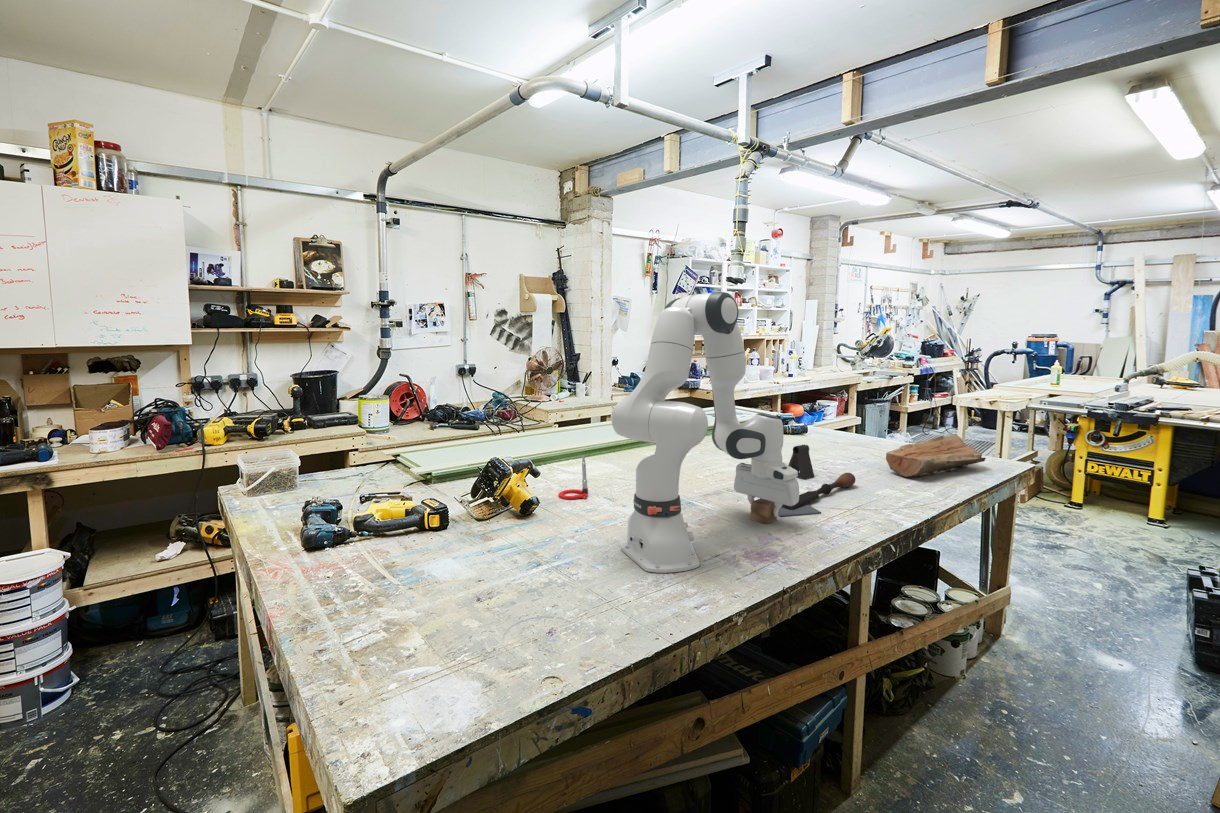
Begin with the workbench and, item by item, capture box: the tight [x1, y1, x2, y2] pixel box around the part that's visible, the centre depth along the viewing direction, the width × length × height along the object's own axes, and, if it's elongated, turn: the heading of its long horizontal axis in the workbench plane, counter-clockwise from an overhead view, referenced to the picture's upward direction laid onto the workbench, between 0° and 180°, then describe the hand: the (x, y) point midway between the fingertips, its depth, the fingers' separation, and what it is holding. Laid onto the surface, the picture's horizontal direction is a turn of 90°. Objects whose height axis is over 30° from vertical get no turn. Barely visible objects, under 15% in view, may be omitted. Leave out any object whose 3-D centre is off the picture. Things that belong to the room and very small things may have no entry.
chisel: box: [782, 472, 856, 509], centre depth 192 cm, size 5×43×5 cm, turn 131°
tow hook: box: [558, 455, 589, 500], centre depth 191 cm, size 9×14×10 cm
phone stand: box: [787, 444, 815, 481], centre depth 217 cm, size 9×6×12 cm, turn 34°
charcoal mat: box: [777, 503, 822, 518], centre depth 180 cm, size 14×14×1 cm
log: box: [885, 433, 986, 478], centre depth 224 cm, size 42×17×15 cm, turn 115°
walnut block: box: [750, 498, 778, 525], centre depth 169 cm, size 6×6×6 cm
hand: (764, 512), depth 169 cm, fingers closed on walnut block, 5 cm apart
